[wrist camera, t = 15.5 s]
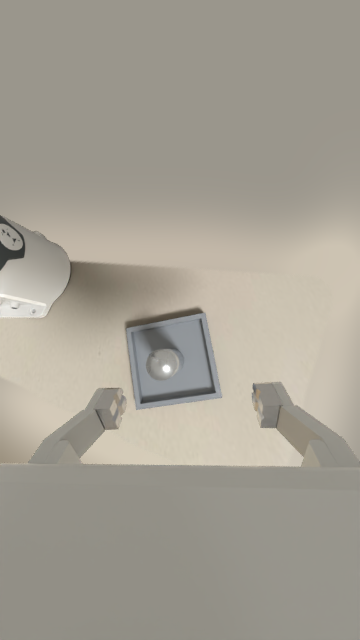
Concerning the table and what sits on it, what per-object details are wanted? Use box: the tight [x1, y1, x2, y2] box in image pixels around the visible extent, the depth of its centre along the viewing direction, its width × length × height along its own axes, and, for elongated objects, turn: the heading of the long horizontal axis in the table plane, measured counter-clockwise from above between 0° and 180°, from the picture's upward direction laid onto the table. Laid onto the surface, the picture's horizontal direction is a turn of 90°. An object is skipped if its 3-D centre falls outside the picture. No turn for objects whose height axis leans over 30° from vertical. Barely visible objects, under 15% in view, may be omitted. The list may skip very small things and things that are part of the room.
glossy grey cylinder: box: [146, 349, 184, 381], centre depth 28 cm, size 4×4×8 cm
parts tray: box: [126, 313, 222, 410], centre depth 32 cm, size 14×14×2 cm
